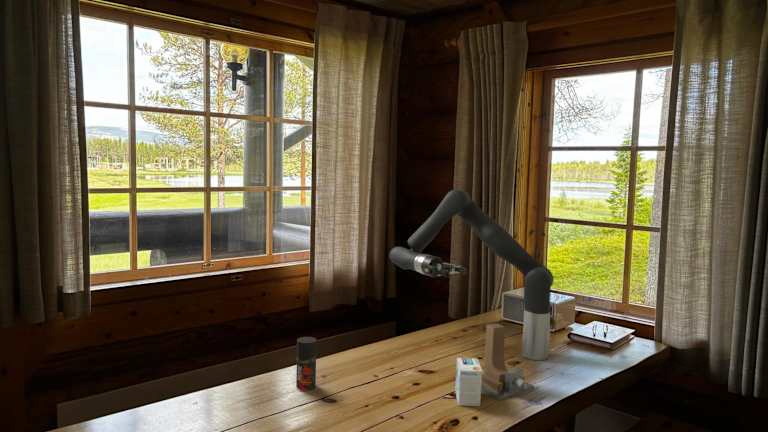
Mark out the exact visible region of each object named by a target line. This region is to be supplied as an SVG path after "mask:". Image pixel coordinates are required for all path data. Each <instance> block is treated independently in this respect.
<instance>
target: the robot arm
mask: <svg viewBox="0 0 768 432" xmlns="http://www.w3.org/2000/svg"><path fill="white" fill-rule="evenodd" d="M456 215H457V216H459V217H460V218H461V219H462V220H464V221H465V222H466V223H467V224H468V225H469V226H470V227H471V228H472V229H473V231H474V232H475V234H476V235H477V237H478V238H479V239H480V240H481V241H482V243H483V244H484V245H485V246H486V247H487V248H488V249H489V250H490V251H491V252H492V253H493V254H495V255H496V256H497V257H499V258H500V259H502V260H504V261H505V262H507V263H508V264H510V265H512V266H513V267H514V268H515V269H517V270H518V271H519V273H521V275H522V276H524V285H523V287H524V288H523V292H524V293H523V304H524V309H523V310H524V313H523V327H522V329H523V331H522V343H521V346H522V347H521V355H522V357H523V358H524V359H525V358H526V359H528V360H532V361H543V360H544V361H545V360H546V359H548V357H549V356H550V347H551V346H550V345H551V330H550V323H551V307H552V306H551V288H552V286H553V284H554V275H553V273H552V271H551V270H550V269H549V268H548V267H546V266H545V265H544V264H542V263H541V262H540V261H538V260H537V259H536V258H535V257H533V256H532V255H531V254H530V253H528V252H527V250H526V249H525V248H524V247H523V246H522V245H521V244H520V243H519V242H518V241H517V240H516V239H515V238H514V237H513V236H512V235H511V234H510V233H509V232H508V231H507V229H505V228H504V227H503V226H502V225H500V224H499V222H497V221H496V220H494V219H493V218H492V217H490V215H488V214H487V213H485V212H484V211H483V210H482V209H481V208H480V206H479V205H477V203H476V202H475V201H474V200H473V198H471V196H470V194H469V193H467V192H466V191H464V190H461V189H452V190H450V191H448V192H447V193H446V195H445V196H444V197H443V199H442V200H441V202H440V203H439V205H438V206H437V208H436V209H435V210H434V212H433V213H432V214H431V215H430V216H429V217H428V218H427V219H426V221H425V222H423V223H422V224H421V225H420V227H418V228H417V229H416V231H414V233H413V234H411V236H410V237H409V238H408V240H407V244H408V246H409V247H410V249H408V248H406V247H403V246H394V247H393V248H392V249H391V250H390V251H389V254H388V255H389V256H388V257H389V260H390V261H391V263H393V264H394V265H396V266H398V267H400V268H401V269H402V270H412V271H413V272H418V273H419V274H422V275H425V276H428V277H431V278H437V277H444V278H449V277H450V275H454V274H459V275H464V276H466V275H468V274H469V273H468V268H467V267H466V268H465V267H464V266H465V265H462V264H458V263H454V262H451V263H448V262H444V261H443V260H442V258H441V257H439V256H434V255H430V254H428V253H427V254H425V253H422V251H423V250H424V249H425V248H426V247H427V246H428V245H429V244H430V243H431V242H432V241H433V240H434V239H435V237H436V236H437V235H438V233H439V232H440V230H441V229H442V228H443V227H444V226H445V224H447V222H449V221H450V220H451V219H452V218H453V217H455V216H456Z"/></svg>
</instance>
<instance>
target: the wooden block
mask: <svg viewBox="0 0 768 432" xmlns="http://www.w3.org/2000/svg"><path fill="white" fill-rule="evenodd" d="M485 327H486V331H485V347H484V365H483V366H484V367H483V368H484V369H483V370H484V371H483V375H486V376H488V377H490V378H492V379H494V380H496V381H498V382H501V383H503V384H502V388H504V387H505V372H506V371H508V370H509V369H507V367H506V365H505V344H506V343H505V340H506V327H505V326H504V325H502V324H500V323H490V324H489V323H488V324H486V326H485Z"/></svg>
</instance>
